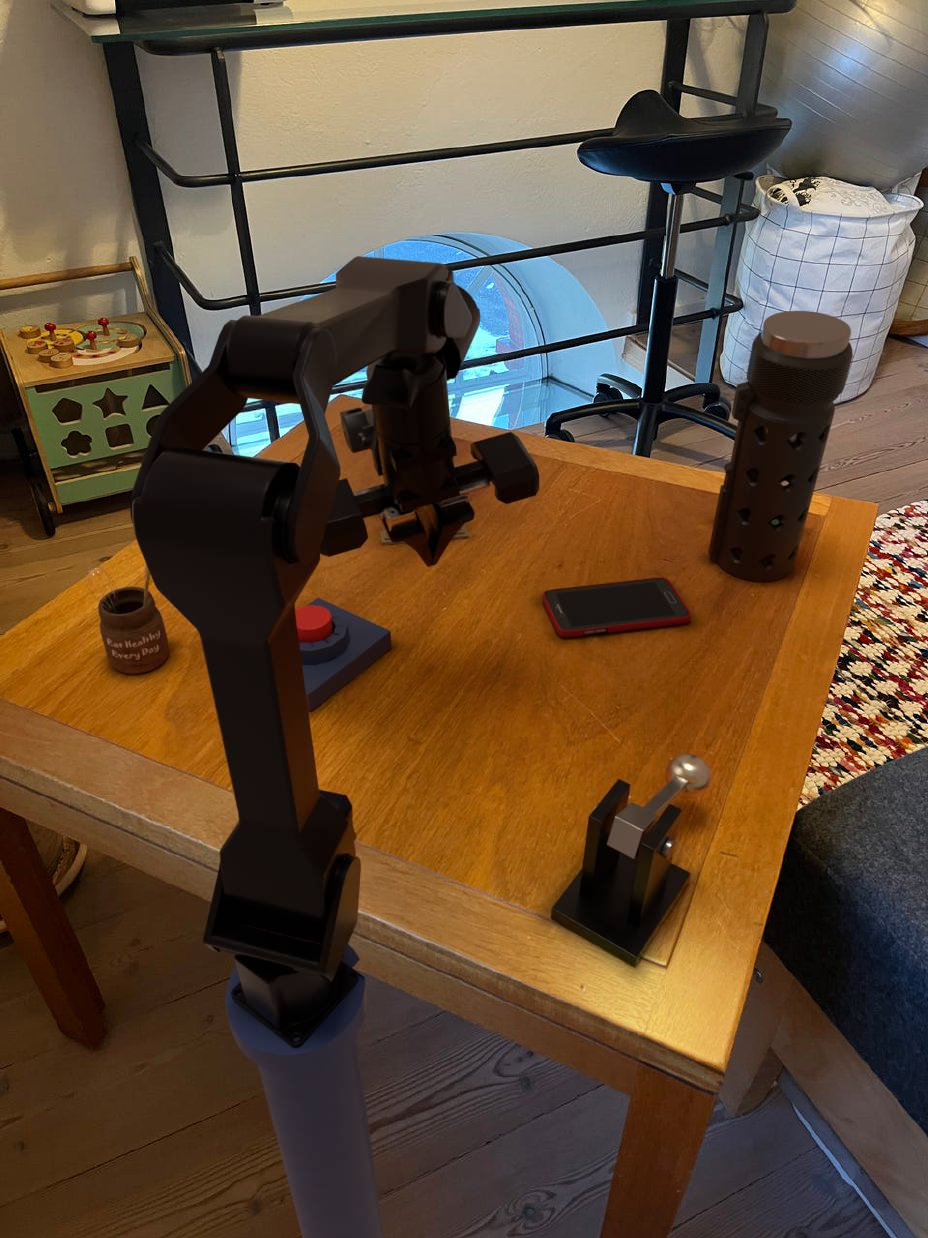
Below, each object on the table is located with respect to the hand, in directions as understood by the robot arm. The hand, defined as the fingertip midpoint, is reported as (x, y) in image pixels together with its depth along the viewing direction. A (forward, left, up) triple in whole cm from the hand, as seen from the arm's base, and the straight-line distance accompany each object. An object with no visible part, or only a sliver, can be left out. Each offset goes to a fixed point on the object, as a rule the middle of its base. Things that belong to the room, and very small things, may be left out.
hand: (430, 562), depth 81 cm
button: (-4, +12, -10) cm, 16 cm away
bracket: (-12, -27, -14) cm, 32 cm away
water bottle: (+39, -17, -14) cm, 45 cm away
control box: (-4, +12, -14) cm, 19 cm away
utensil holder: (-14, +26, -14) cm, 33 cm away
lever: (-7, -27, -10) cm, 29 cm away
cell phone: (+21, -9, -14) cm, 27 cm away
